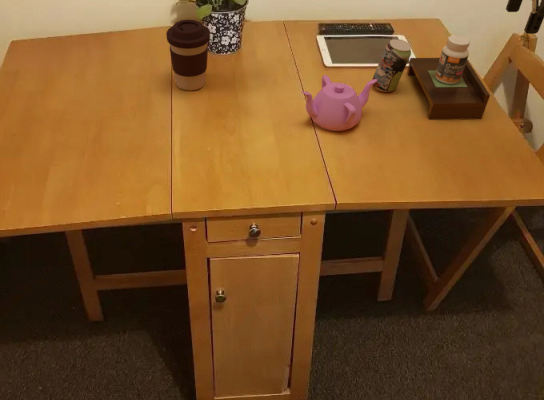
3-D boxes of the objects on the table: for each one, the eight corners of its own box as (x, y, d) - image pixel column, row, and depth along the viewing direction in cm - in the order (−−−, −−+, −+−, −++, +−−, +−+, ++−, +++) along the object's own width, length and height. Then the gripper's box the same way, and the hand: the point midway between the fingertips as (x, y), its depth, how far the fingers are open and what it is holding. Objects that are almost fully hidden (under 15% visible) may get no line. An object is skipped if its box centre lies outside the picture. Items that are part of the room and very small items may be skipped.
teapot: (297, 125, 129) (301, 91, 123) (323, 96, 138) (327, 62, 132) (347, 142, 124) (354, 107, 118) (371, 111, 133) (378, 77, 127)
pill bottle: (441, 86, 133) (453, 46, 126) (430, 73, 137) (441, 34, 130) (464, 83, 133) (477, 44, 127) (452, 71, 138) (464, 32, 131)
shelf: (481, 118, 131) (490, 95, 127) (428, 119, 131) (435, 95, 126) (454, 72, 146) (461, 50, 141) (406, 72, 145) (412, 50, 141)
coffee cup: (215, 75, 144) (214, 18, 134) (205, 96, 137) (203, 38, 127) (176, 70, 146) (173, 14, 136) (164, 91, 139) (160, 33, 129)
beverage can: (370, 80, 143) (379, 35, 135) (400, 82, 142) (411, 37, 134) (371, 94, 138) (380, 48, 130) (403, 96, 138) (414, 50, 129)
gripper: (600, -58, 88) (558, 40, 99) (559, -88, 99) (525, 4, 110) (551, -58, 88) (515, 40, 99) (515, -88, 99) (486, 4, 110)
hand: (520, 21), depth 104 cm, fingers open, 8 cm apart
